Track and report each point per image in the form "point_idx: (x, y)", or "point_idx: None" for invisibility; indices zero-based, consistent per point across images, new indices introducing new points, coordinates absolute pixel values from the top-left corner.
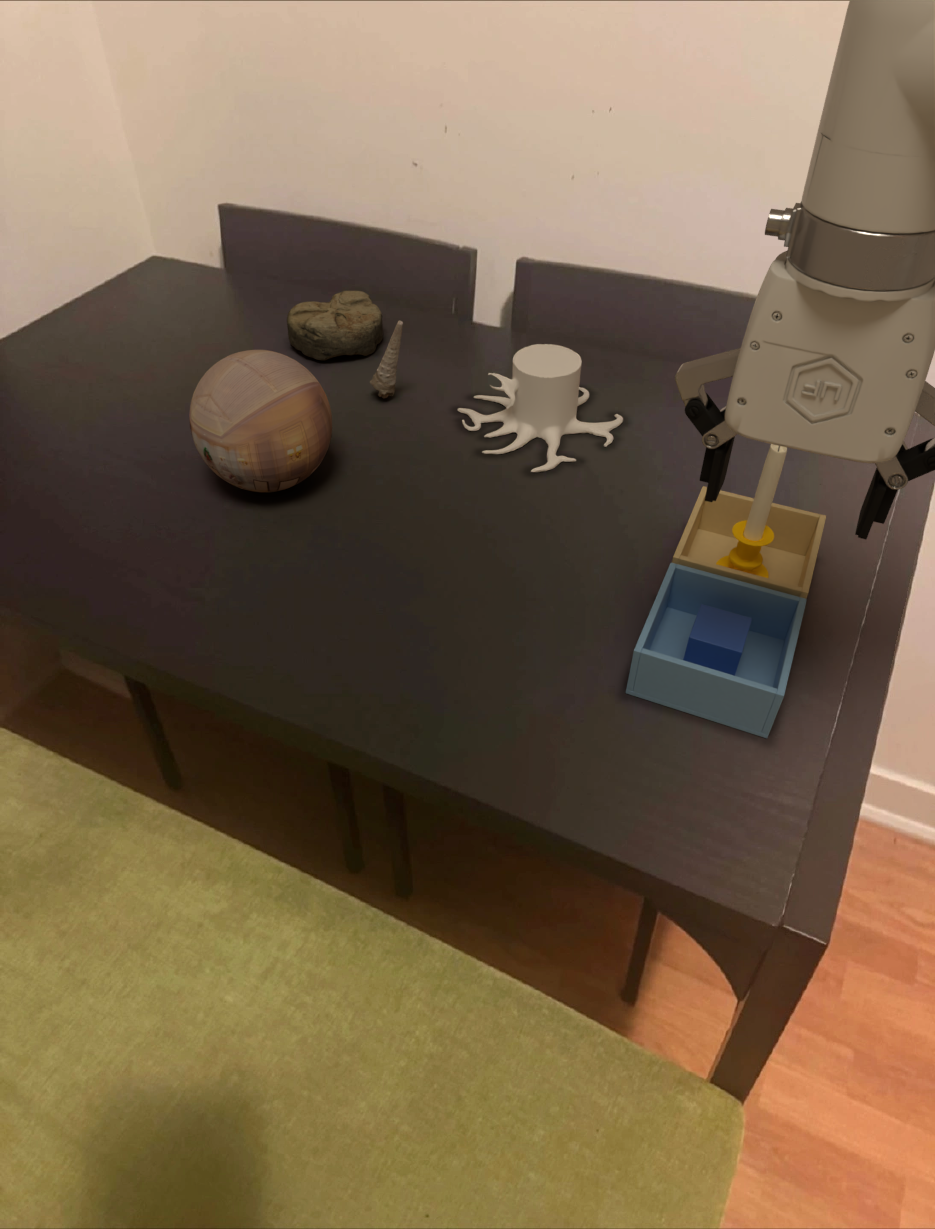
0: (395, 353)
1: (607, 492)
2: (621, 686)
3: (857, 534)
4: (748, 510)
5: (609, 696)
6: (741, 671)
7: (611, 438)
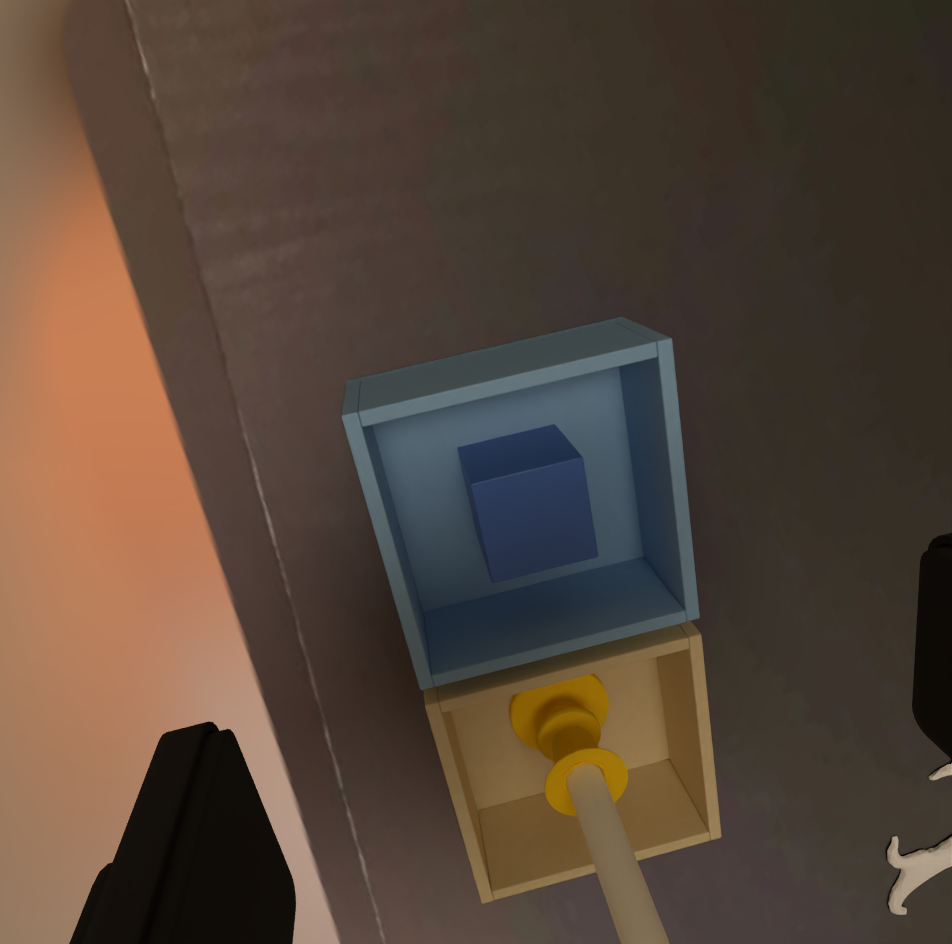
0: None
1: (847, 743)
2: None
3: (217, 733)
4: None
5: (645, 290)
6: (457, 496)
7: (892, 858)
